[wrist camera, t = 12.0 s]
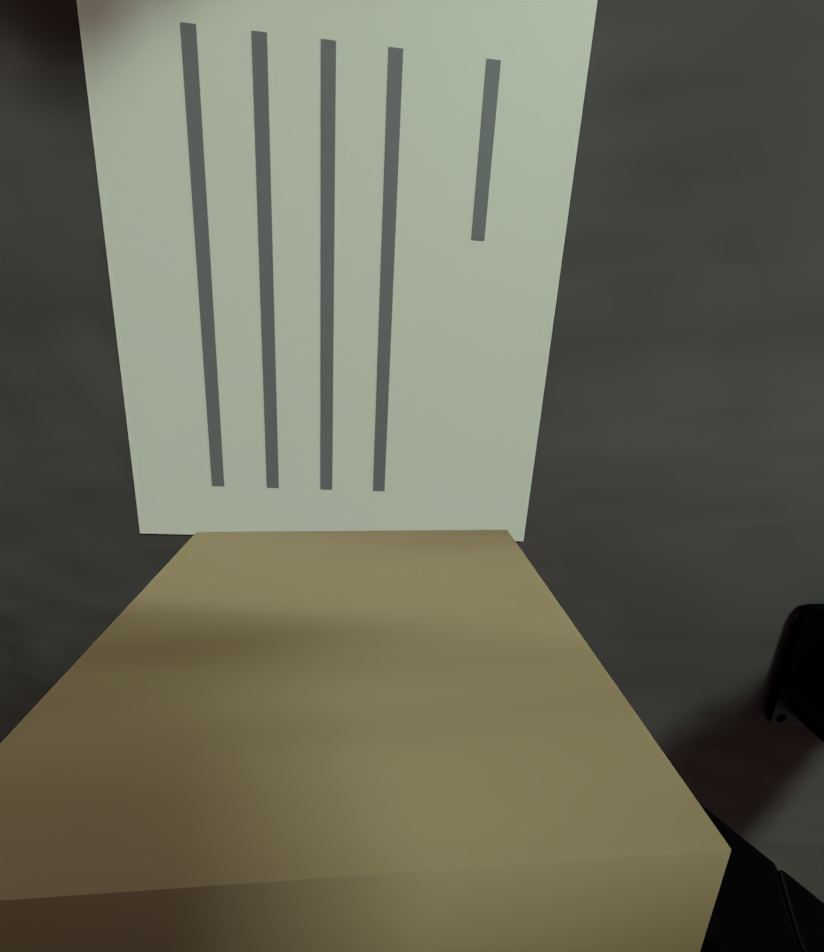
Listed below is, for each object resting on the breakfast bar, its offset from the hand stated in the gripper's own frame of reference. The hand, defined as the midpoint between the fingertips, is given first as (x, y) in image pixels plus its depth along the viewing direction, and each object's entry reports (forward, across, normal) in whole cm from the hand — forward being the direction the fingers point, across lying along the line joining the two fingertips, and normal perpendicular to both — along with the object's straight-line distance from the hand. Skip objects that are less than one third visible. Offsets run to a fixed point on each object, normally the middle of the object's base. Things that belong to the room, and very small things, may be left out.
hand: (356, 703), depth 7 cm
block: (+1, 0, 0) cm, 1 cm away
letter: (+11, +1, -7) cm, 13 cm away
